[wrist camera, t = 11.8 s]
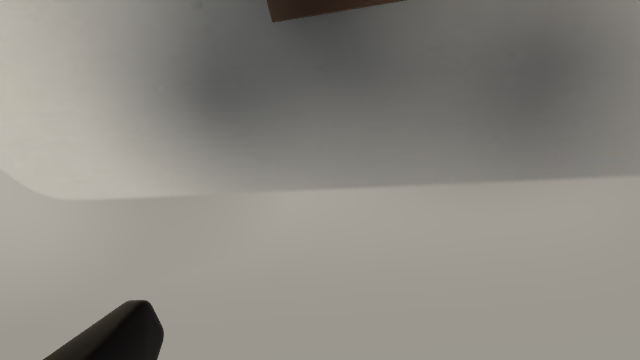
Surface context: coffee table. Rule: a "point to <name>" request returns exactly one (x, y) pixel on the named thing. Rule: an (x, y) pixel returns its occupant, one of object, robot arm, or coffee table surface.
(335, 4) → the board
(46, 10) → the coffee table surface
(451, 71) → the coffee table surface
